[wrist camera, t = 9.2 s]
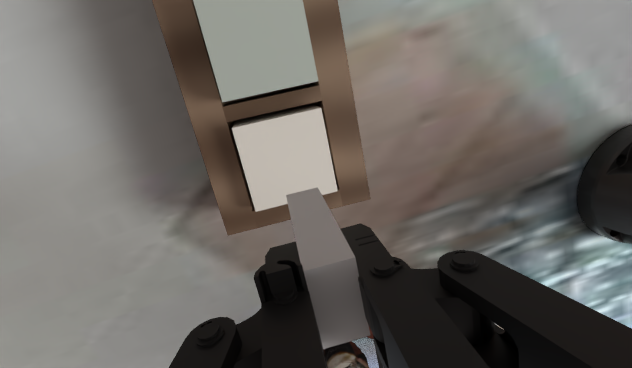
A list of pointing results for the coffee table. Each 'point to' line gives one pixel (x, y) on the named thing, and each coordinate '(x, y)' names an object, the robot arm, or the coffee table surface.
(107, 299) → the coffee table surface
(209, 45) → the slate key
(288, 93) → the frame
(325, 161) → the cream key
